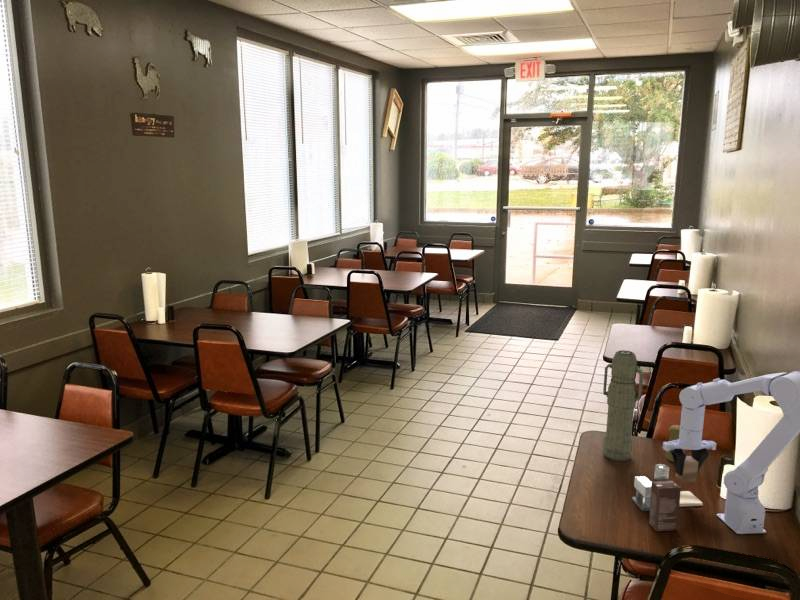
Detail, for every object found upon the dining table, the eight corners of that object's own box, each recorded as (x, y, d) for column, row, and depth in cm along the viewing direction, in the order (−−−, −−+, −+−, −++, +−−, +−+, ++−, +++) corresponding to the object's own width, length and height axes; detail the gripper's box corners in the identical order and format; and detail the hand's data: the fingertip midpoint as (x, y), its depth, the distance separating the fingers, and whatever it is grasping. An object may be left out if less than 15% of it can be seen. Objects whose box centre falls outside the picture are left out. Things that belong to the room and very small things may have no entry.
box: (668, 522, 169) (673, 479, 167) (677, 531, 165) (682, 487, 162) (647, 522, 168) (651, 480, 166) (655, 532, 164) (659, 488, 162)
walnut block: (696, 482, 178) (698, 462, 177) (682, 482, 178) (684, 462, 177) (688, 475, 182) (690, 456, 181) (675, 476, 182) (677, 456, 181)
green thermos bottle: (635, 463, 204) (645, 357, 198) (597, 457, 208) (605, 353, 202) (636, 453, 212) (645, 351, 206) (599, 447, 216) (607, 347, 210)
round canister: (670, 482, 192) (672, 469, 191) (658, 482, 192) (659, 469, 191) (664, 476, 196) (665, 463, 195) (651, 476, 196) (652, 464, 195)
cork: (660, 456, 210) (663, 424, 208) (674, 453, 213) (677, 421, 211) (675, 463, 205) (678, 431, 203) (689, 460, 207) (692, 428, 205)
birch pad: (702, 505, 178) (702, 503, 178) (678, 506, 177) (678, 503, 177) (689, 493, 185) (689, 491, 185) (665, 494, 184) (666, 491, 184)
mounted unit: (655, 510, 175) (657, 486, 174) (642, 511, 175) (644, 487, 173) (644, 499, 181) (646, 476, 180) (631, 499, 181) (633, 476, 180)
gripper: (708, 421, 182) (703, 466, 184) (659, 423, 180) (654, 468, 183) (722, 431, 175) (717, 477, 177) (672, 432, 173) (667, 479, 176)
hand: (686, 473), depth 180 cm, fingers closed on walnut block, 4 cm apart
